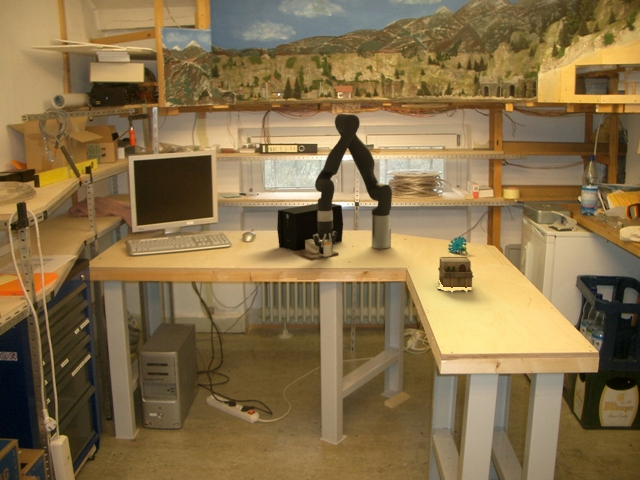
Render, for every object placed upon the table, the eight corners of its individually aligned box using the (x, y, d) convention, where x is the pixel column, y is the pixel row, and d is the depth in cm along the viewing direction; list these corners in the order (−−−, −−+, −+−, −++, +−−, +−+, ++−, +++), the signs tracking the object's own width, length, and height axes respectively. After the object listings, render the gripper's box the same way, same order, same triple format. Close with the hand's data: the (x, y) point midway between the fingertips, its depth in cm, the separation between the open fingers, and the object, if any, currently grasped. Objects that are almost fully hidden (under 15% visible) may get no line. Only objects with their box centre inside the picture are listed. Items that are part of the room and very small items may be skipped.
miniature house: (432, 281, 260) (433, 255, 257) (466, 281, 259) (467, 255, 257) (438, 293, 245) (439, 265, 242) (474, 292, 245) (475, 265, 242)
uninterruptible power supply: (277, 247, 322) (276, 209, 317) (325, 236, 344) (324, 201, 339) (297, 252, 310) (296, 214, 305) (345, 241, 332) (345, 205, 327)
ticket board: (320, 248, 317) (320, 237, 315) (338, 255, 304) (338, 242, 302) (294, 253, 308) (294, 241, 307) (311, 260, 295) (311, 247, 294)
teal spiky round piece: (443, 247, 308) (456, 232, 309) (449, 254, 312) (462, 239, 312) (457, 255, 299) (470, 240, 299) (463, 262, 302) (476, 247, 303)
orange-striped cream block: (326, 253, 302) (326, 239, 300) (331, 255, 298) (331, 241, 297) (319, 254, 300) (319, 241, 298) (324, 256, 296) (324, 242, 295)
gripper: (332, 216, 302) (333, 249, 306) (308, 219, 294) (309, 254, 298) (341, 218, 296) (341, 252, 300) (317, 222, 288) (317, 257, 292)
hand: (325, 253), depth 299 cm, fingers closed on orange-striped cream block, 4 cm apart
